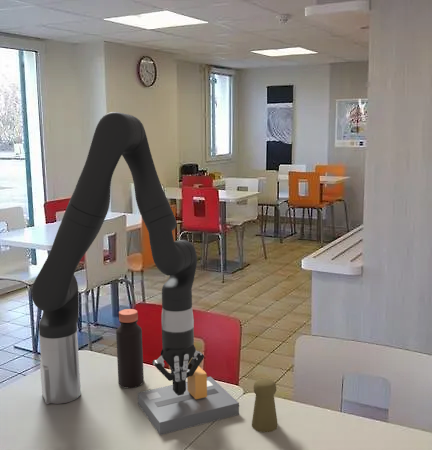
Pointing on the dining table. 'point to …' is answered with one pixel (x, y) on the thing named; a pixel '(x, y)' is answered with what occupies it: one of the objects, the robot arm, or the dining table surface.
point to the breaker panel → (186, 407)
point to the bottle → (129, 350)
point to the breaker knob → (198, 384)
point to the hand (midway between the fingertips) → (179, 393)
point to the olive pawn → (264, 406)
